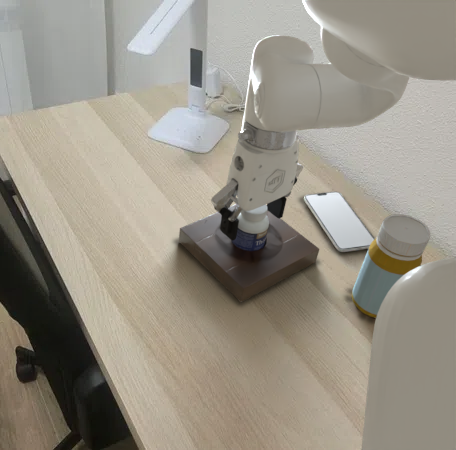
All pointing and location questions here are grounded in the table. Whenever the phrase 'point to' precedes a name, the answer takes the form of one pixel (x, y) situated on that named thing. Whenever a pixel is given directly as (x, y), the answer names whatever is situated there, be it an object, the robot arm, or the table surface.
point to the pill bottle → (252, 229)
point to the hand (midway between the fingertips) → (251, 223)
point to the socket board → (248, 254)
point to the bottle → (389, 260)
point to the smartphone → (339, 221)
